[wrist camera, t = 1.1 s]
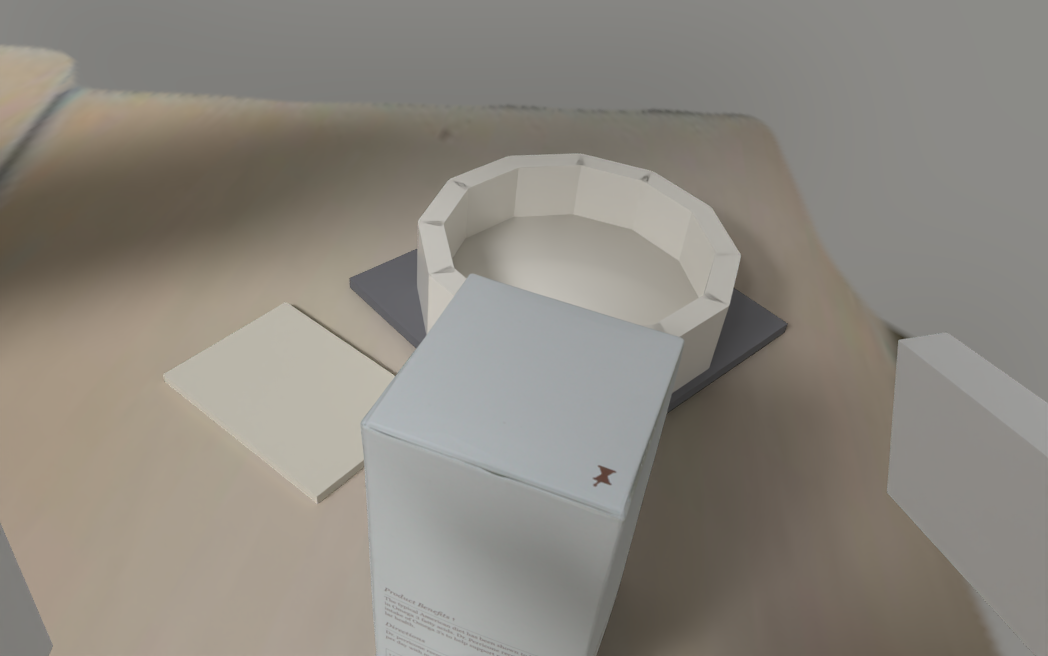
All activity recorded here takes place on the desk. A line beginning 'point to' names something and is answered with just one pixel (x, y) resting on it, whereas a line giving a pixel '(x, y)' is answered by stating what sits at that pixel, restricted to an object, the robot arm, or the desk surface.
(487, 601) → the supplement box
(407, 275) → the mat
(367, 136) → the desk surface
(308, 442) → the folded cloth
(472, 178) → the bowl
